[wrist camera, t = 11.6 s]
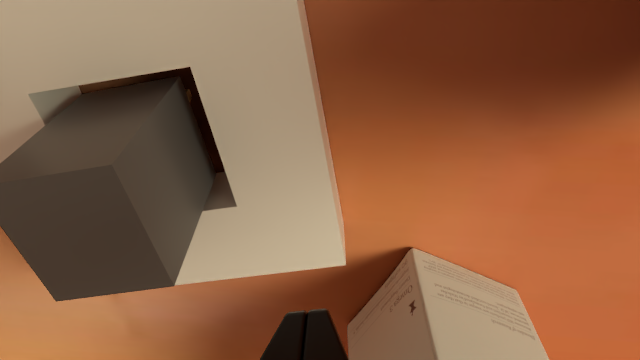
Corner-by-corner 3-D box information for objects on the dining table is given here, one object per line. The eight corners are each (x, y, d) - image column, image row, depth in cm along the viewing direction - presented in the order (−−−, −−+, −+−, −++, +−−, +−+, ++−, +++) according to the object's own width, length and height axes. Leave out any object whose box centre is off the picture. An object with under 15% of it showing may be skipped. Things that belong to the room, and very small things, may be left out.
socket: (286, -95, 15) (276, -91, 12) (343, 223, 23) (346, 278, 19) (-83, -21, 16) (-180, 0, 13) (86, 256, 24) (50, 312, 21)
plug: (189, 63, 18) (111, 164, 11) (222, 156, 21) (173, 286, 14) (98, 79, 19) (-29, 187, 12) (141, 170, 21) (56, 301, 14)
